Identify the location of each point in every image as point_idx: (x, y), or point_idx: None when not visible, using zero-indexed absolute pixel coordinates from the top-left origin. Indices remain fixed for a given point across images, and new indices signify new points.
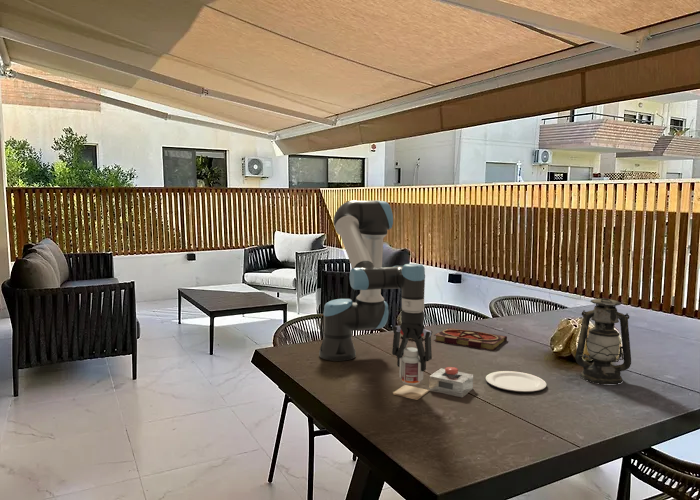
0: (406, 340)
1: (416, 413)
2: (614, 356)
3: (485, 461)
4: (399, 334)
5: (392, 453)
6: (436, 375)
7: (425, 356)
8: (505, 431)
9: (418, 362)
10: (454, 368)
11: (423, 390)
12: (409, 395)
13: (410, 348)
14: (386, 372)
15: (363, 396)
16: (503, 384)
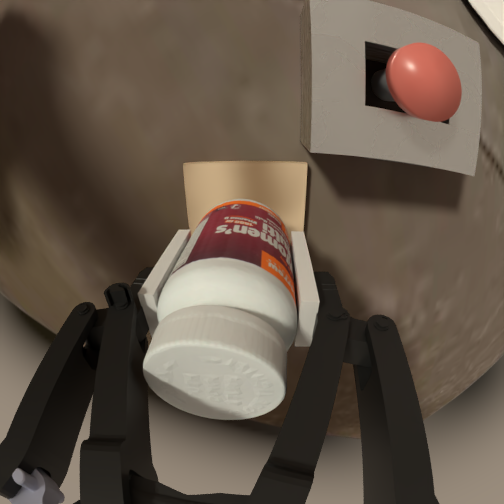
0: (144, 454)
1: None
2: None
3: (448, 391)
4: (41, 445)
5: (331, 432)
6: (343, 122)
7: (357, 381)
8: (500, 309)
9: (297, 343)
10: (439, 65)
11: (289, 181)
12: None
13: (182, 370)
14: (54, 79)
15: None
16: (493, 3)
